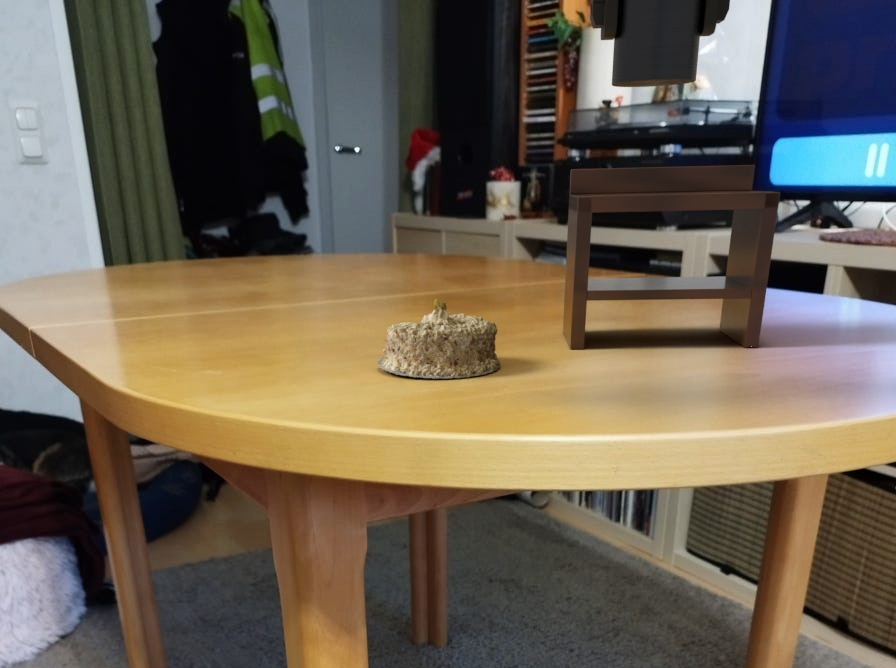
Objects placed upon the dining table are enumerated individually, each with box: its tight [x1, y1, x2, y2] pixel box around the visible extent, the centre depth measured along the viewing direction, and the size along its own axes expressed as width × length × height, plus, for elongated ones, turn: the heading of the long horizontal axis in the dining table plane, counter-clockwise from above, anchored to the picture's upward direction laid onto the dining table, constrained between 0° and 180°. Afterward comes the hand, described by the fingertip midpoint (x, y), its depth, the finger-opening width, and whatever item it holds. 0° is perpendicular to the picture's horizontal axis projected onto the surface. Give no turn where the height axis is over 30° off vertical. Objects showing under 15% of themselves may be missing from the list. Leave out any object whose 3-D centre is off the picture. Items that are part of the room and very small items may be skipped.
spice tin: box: [611, 0, 703, 88], centre depth 52 cm, size 5×5×7 cm
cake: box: [376, 298, 502, 380], centre depth 73 cm, size 10×10×5 cm
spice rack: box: [562, 164, 781, 350], centre depth 81 cm, size 16×10×14 cm, turn 86°
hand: (657, 34), depth 53 cm, fingers closed on spice tin, 5 cm apart
